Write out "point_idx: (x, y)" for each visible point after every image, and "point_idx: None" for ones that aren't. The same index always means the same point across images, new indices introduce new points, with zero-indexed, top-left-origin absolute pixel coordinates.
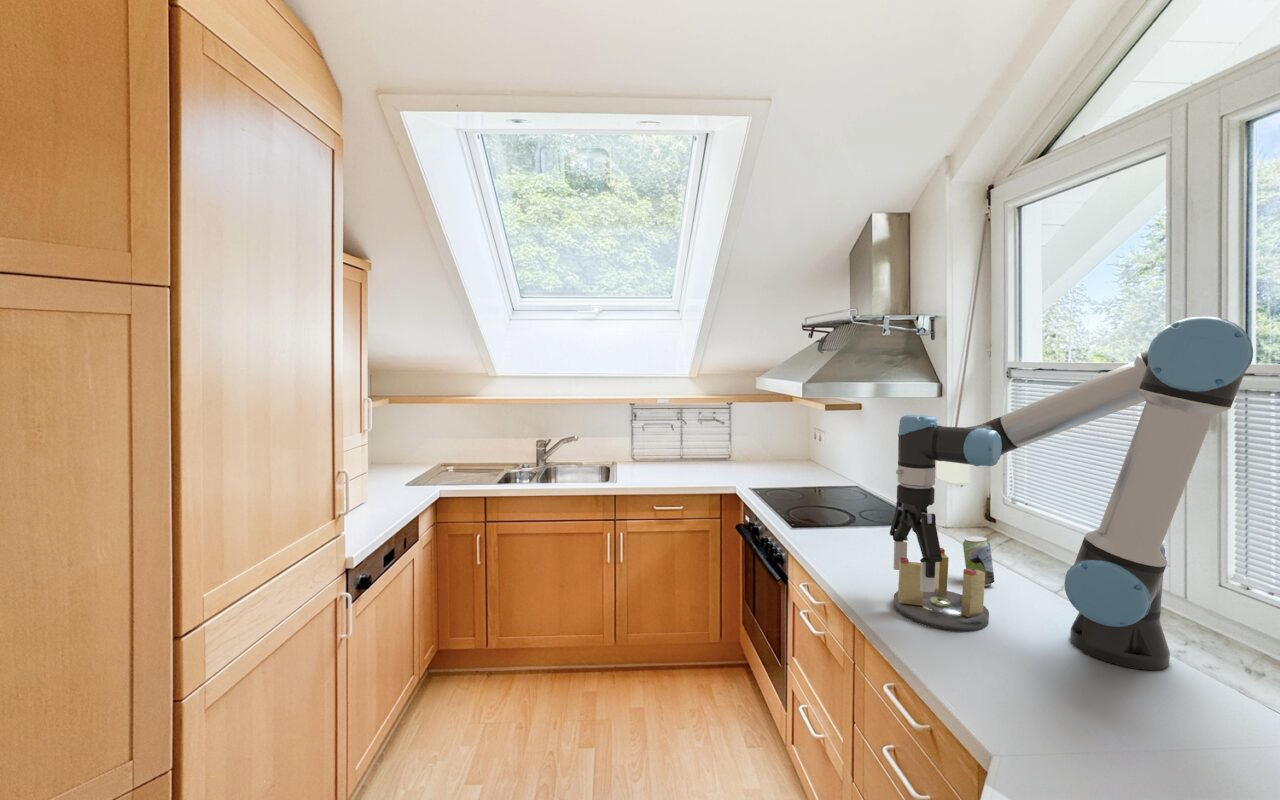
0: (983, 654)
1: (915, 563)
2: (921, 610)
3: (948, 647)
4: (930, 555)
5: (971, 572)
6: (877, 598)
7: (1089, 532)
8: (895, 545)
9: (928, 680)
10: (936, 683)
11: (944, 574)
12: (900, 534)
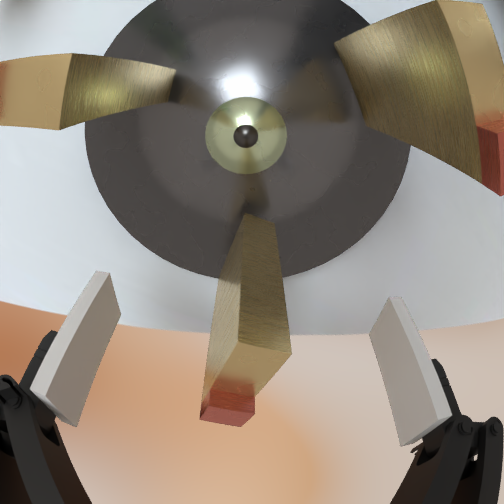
0: (478, 192)
1: (244, 373)
2: (302, 239)
3: (438, 245)
4: (469, 462)
5: None
6: (142, 270)
7: None
8: (81, 412)
9: (471, 322)
10: (479, 316)
11: (134, 79)
12: (69, 471)
